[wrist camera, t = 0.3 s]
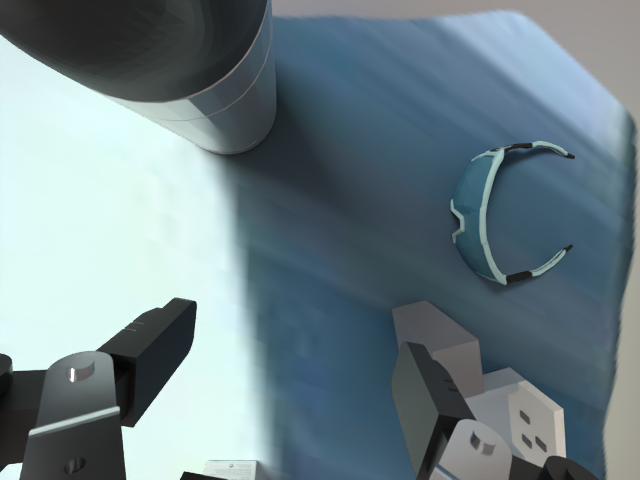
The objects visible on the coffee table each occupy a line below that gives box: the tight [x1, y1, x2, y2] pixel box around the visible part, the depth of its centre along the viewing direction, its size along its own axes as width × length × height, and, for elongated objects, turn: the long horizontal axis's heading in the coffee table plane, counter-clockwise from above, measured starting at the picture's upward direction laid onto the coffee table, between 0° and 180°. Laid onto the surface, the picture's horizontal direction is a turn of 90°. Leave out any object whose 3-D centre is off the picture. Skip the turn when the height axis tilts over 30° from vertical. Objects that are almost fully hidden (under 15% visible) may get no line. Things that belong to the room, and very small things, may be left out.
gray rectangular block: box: [392, 300, 485, 399], centre depth 29 cm, size 5×4×9 cm
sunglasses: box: [451, 141, 575, 285], centre depth 32 cm, size 14×15×5 cm
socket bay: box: [464, 367, 566, 468], centre depth 33 cm, size 11×10×7 cm
